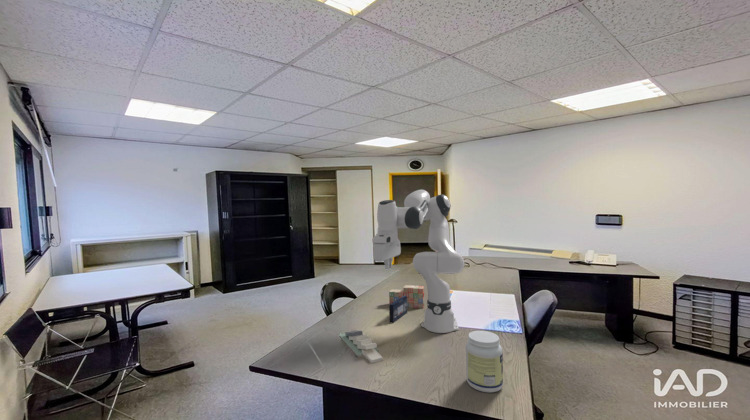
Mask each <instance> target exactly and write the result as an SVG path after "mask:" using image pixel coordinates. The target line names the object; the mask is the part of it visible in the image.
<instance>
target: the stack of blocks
mask: <svg viewBox="0 0 750 420" xmlns="http://www.w3.org/2000/svg"><path fill="white" fill-rule="evenodd" d="M402 288H403V289H390V290H389V292H388V293H389V294H388V296H389V299H388V300H389V305H390V304H391V303H393V302H394V301H396V300H397V299H399V298H401V297H402V296H407V308H412V309H413V308H414V309H424V308H425V286H424V285H409V284H408V285H406V284H405V285H404V286H403V287H402ZM389 305H388V306H389Z"/></svg>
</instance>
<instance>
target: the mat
mask: <svg viewBox="0 0 750 420" xmlns="http://www.w3.org/2000/svg"><path fill="white" fill-rule="evenodd" d="M355 331H358V330H356V329H355ZM338 336H339V338H341V339H342V340H343V342H344V343H345V344H346V345H347V346H348V347H349V348H350V349H351V351H353V352H354V354H356V357H358V356H362V355H363V354H362V349H358V348H357V345H355V344H353V340H349V336H346V335H345V332H343V333H338ZM374 349H375V350H376V351H377V352H378V351H379V349H378V348H377V347H375V348H374Z"/></svg>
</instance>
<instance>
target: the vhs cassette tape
mask: <svg viewBox="0 0 750 420" xmlns="http://www.w3.org/2000/svg"><path fill="white" fill-rule="evenodd" d="M388 307H389V310H388V311H389V313H388V314H389V318H388V319H389V323H390V324H391V323H393V324H394V323H396V322H397V321H399V320H400V319H401V318H403V316H405V315H406V314H408V307H407V296H402V297H401V298H399V299H397V300H396V301H394V302H393V303H391V304H390V305H388Z"/></svg>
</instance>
